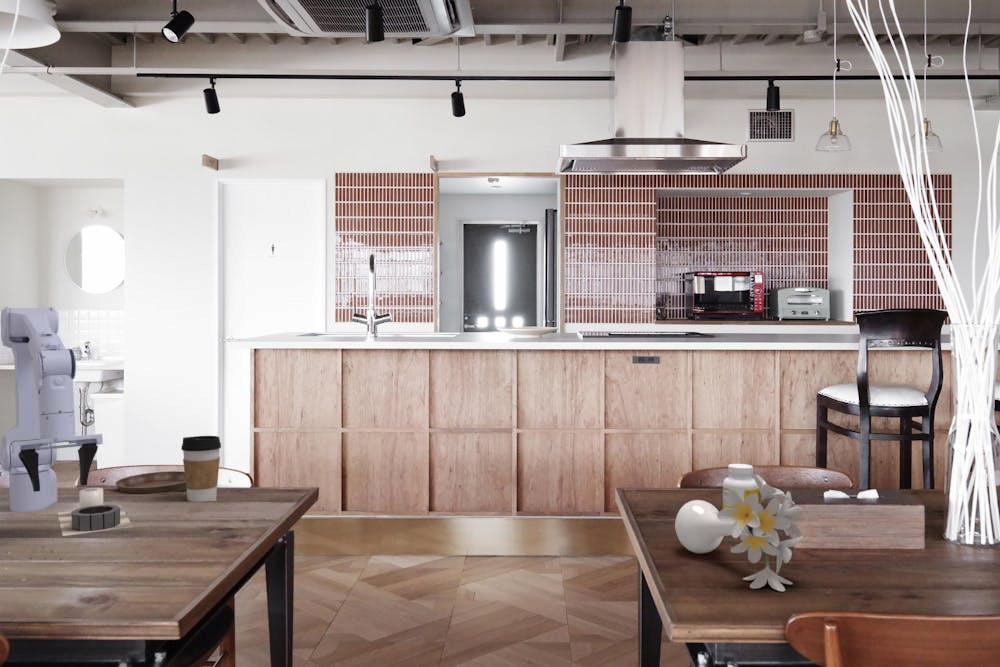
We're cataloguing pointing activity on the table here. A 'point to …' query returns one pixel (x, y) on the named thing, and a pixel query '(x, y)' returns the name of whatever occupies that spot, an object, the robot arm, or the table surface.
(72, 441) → the robot arm
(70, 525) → the mount plate
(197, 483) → the coffee cup
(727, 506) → the supplement bottle
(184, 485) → the plant saucer
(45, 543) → the table surface
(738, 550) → the flower vase
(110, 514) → the dark grey segmented ring
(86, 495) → the white cylinder
